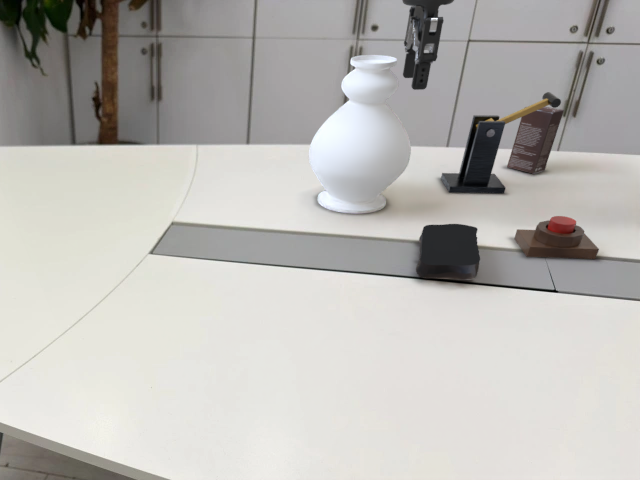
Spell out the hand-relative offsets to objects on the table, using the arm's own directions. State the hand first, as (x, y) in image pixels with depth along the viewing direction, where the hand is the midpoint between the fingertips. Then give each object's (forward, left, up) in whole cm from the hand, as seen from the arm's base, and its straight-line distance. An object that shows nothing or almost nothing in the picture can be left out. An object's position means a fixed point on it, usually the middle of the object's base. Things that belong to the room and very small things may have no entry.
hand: (413, 83), depth 110 cm
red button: (-24, +13, -19) cm, 33 cm away
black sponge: (-6, +20, -23) cm, 31 cm away
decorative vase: (+6, -6, -23) cm, 24 cm away
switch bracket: (-18, -16, -22) cm, 33 cm away
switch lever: (-23, -16, -10) cm, 30 cm away
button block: (-24, +13, -22) cm, 35 cm away
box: (-31, -27, -23) cm, 47 cm away
